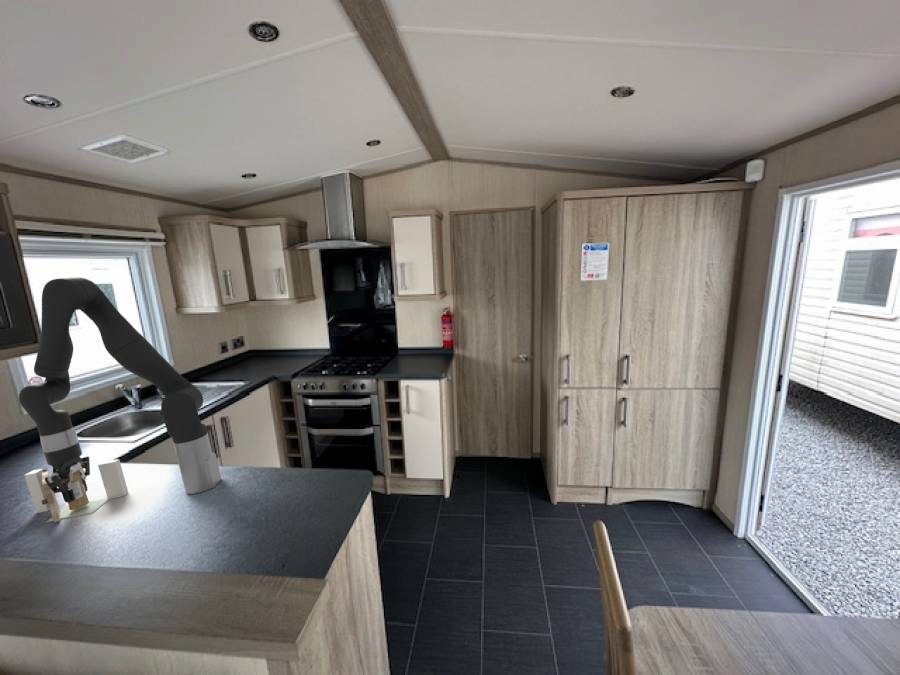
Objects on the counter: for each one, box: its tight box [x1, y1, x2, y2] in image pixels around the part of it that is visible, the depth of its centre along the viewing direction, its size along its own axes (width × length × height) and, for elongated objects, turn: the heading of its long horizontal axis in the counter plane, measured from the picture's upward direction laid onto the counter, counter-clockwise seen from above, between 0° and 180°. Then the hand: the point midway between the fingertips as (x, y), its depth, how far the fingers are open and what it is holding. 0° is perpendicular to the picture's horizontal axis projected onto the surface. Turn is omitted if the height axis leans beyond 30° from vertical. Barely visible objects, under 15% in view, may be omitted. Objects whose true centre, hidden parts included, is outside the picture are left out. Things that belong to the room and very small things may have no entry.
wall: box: [97, 458, 129, 499], centre depth 121 cm, size 5×2×12 cm, turn 101°
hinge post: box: [24, 468, 51, 514], centre depth 117 cm, size 3×3×13 cm
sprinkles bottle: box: [61, 464, 90, 510], centre depth 114 cm, size 5×5×14 cm
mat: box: [46, 497, 112, 523], centre depth 116 cm, size 12×8×1 cm, turn 101°
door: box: [41, 468, 61, 523], centre depth 113 cm, size 14×2×13 cm, turn 48°
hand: (77, 496), depth 115 cm, fingers closed on sprinkles bottle, 4 cm apart
